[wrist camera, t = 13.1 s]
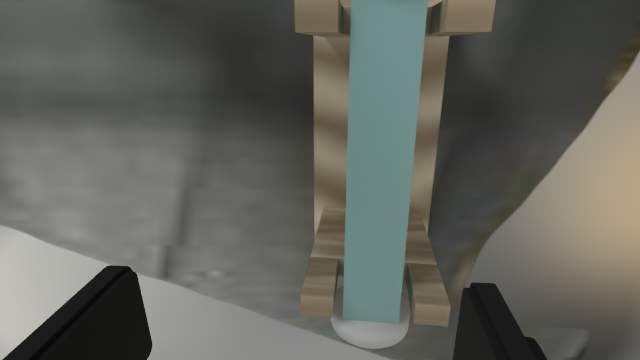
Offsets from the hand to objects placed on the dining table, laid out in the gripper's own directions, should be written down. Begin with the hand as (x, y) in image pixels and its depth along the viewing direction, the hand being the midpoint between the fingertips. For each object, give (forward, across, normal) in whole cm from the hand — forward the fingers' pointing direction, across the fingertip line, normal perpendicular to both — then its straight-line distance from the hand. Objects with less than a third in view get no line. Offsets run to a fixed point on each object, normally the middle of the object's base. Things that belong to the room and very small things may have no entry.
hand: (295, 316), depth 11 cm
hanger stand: (+29, -3, +1) cm, 29 cm away
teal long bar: (+18, -3, +1) cm, 19 cm away
